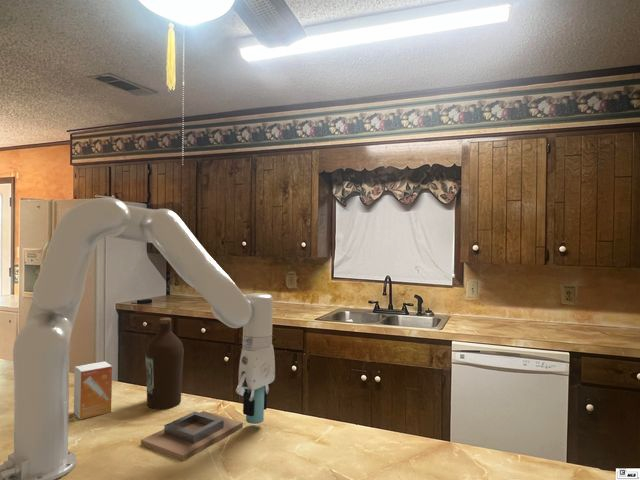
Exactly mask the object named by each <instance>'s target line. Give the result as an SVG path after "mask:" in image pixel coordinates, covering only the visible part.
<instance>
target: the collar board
mask: <svg viewBox="0 0 640 480" xmlns="http://www.w3.org/2000/svg"><path fill="white" fill-rule="evenodd" d="M243 423H244V422H242V421H239V420H236V419H233V418H229V417H225V416H223V415H218V414H215V413H212V412H209V411H206V410H202V411H200V412H198V411H196V410H195V411H192V412H191V413H189V414H186V415H184V416H182V417H179V418H178V419H175V420H173V421H171V422H168V423H166V424H164V425H163V426H164V427H163V428H162V429H161V430H159V431H157V432H154V433H152V434H149V435H148V436H146V437H143V438H141V439H140V445H141V446H143V447H146V448H148V449H150V450H153V451H156V452H159V453H161V454H164V455H167V456H169V457H172V458H174V459H177V460H180V461H182V462H183V461H185V460H187V459H189V458H191V457H193V456H194V455H196V454H197V453H200V452H201V451H203V450H205V449H206V448H208V447H210V446H212V445H214V444H215V443H217V442H218V441H220V440H222V439H225V438H226V437H227V436H230V435H231V434H232V433H235V432H237V431H238V430H239V429H242V428H243V427H244V426H243V425H244V424H243Z"/></svg>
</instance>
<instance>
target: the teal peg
mask: <svg viewBox="0 0 640 480" xmlns="http://www.w3.org/2000/svg"><path fill="white" fill-rule="evenodd" d="M264 390H265V386H263V387H261V388H259V389H256V390H255V391H254V397H253V400H255V407H254V416H248V415H245V422H246V423H248V424H251V425H257V424H261V423H263V422H264V417H265V410H264ZM247 392H248V393H249V394H250V390H247Z"/></svg>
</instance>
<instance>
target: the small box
mask: <svg viewBox="0 0 640 480" xmlns="http://www.w3.org/2000/svg"><path fill="white" fill-rule="evenodd" d="M73 373H74V375H73V376H74V377H73V379H74V381H73V383H74V384H73V413H74V415H76V417H77V418H78V419H79V420H83V419H88V418H92V417H95V416H100V415H105V414H109V413H111V412H112V396H113V395H112V393H113V392H112V391H113V390H112V389H113V388H112V387H113V365H111V364H109V363H108V362H107V361H100V362H93V363H87V364H82V365H77V366H74V372H73Z"/></svg>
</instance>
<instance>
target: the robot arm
mask: <svg viewBox="0 0 640 480" xmlns="http://www.w3.org/2000/svg"><path fill="white" fill-rule="evenodd" d="M106 237H108V238H115V239H123V240H128V241H133V242H142V243H150V244H153V246H154V247H155V248H156V249H157V250H158V251H159V253H160V254H161V255H162V257H164V259H165V260H166V261H167V262H168V264H169V265H170V266H171V267H172V269H173V270H174V271H175V272H176V274H177V275H178V276H179V277H180V278H181V279H182V280H183V281H184V282H185V283H186V284H188V285H189V286H190V287H191V288H193V289H194V290H196V292H197V293H198V294H200V295H201V297H202V298H204V299H205V301H206V302H207V303H208V304H209V305H210V306H211V308H210V309H211V313H212V315H213V316H214V318H215V319H216V320H218V321H220V322H221V323H223V324H224V325H226V326H227V327H228V328H232V329H239V328H242V348H241V353H240V357H239V365H238V377H237V378H238V382H237V383H238V384H237V387H236V389H235V393H236V394H238V395H239V396H240V397H241V399H242V400H243V403H242V404H243V405H242V413H243V415H245V416H246V415H248V416H254V407H255V400H253V397H254V391H255V390H256V389H259V388H261V387H263V386H265V390H264V411H265V410H267V408H268V393H269V391H270V387H271V384H272V383H273V382H274V381H275V379H276V360H275V350H274V345H273V319H274V318H273V314H274V298H273V296H272V295H271V294H269V293H262V292H256V293H255V292H253V293H247V294H244V293H243V292H242V291H241V289H240V288H239V287H238V285H236V283H235V282H234V281H233V280H232V279H231V277H230V276H229V275H228V274H227V273H226V272H225V271H224V270H223V268H222V267H221V266H220V264H218V263H217V262H216V260H214V258H213V257H212V256H211V255H210V254H209V252H208V251H207V250H206V249H205V248H204V246H203V245H202V244H201V243H200V242H199V240H198V239H197V237H196V236H195V235H194V234H193V232H192V231H191V229H189V227H188V226H187V225H186V224H185V222H184V221H183V220H182V218H181V217H180V216H179V215H178V214H177V213H176V212H174V211H173V210H171V209H169V208H158V209H154V208H153V209H152V208H145V207H140V206H135V205H129V204H125V203H124V202H123V201H121V200H120V199H118V198H116V197H108V196H107V197H106V196H105V197H98V198H93V199H89V200H86V201H83V202H80V203H78V204H77V205H75V206H73V207H72V208H70V209H69V210H68V211H67V212H66V213H65V214H64V215H63V216H62V217H61V219H60V220H59V221H58V223H57V225H56V226H55V228H54V231H53V233H52V236H51V239H50V241H49V245H48V248H47V250H46V253H45V255H44V258H43V261H42V265H41V268H40V270H39V273H38V276H37V278H36V280H35V281H34V285H33V288H32V299H31V302H30V306H29V309H28V313H27V316H26V318H25V322H24V325H23V326H22V328H21V329H20V330H19V331H18V333H17V335H16V337H15V340H14V343H13V347H12V348H13V349H12V362H13V363H12V364H13V373H14V374H13V376H14V377H13V379H14V383H13V385H14V388H13V389H14V392H13V393H14V399H13V400H14V404H13V405H14V406H13V407H14V408H13V409H14V412H13V414H14V415H13V416H14V418H13V420H14V421H13V425H14V426H13V453H10V454H8V455H7V460H6V461H3V462H2V464H0V480H57V479H58V478H61V477H63V476H65V475H66V474H67V473H69V472H70V471H71V470H73V469H74V467H75V466H76V464H77V456H76V454H75V452H74V453H73V451H69V407H70V404H69V399H70V389H69V388H70V386H69V385H70V382H69V381H70V379H69V378H70V346H71V344H70V343H71V336H72V333H73V329H74V325H75V323H76V318H77V315H78V312H79V308H80V305H81V302H82V298H83V296H84V294H85V288H86V279H87V276H88V272H89V268H90V266H91V262H92V260H93V257H94V254H95V251H96V247H97V246H98V245H99V243H100V242H101V240H103V239H105V238H106ZM247 390H250V394H249V393H248V392H247Z"/></svg>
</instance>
